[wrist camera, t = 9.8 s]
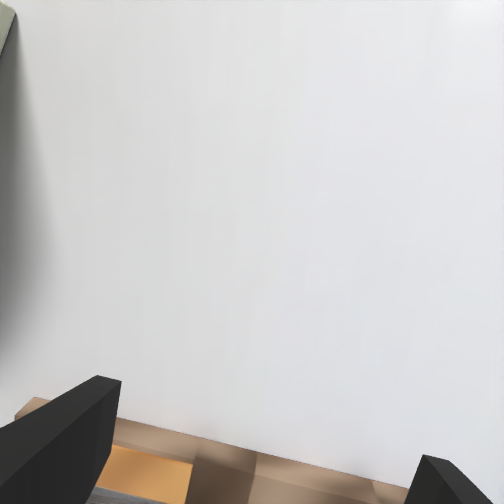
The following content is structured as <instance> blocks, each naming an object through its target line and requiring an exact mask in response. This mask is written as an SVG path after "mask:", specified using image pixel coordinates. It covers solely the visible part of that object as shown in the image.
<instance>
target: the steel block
mask: <svg viewBox="0 0 504 504" xmlns="http://www.w3.org/2000/svg"><path fill="white" fill-rule="evenodd" d="M85 504H163V503H159V502H155V501H151V500H147V499H143V498H139V497H135V496H131V495H127V494H123V493H119V492H115V491H111V490H107V489H103V488H99V487H94V489H93V491H92V493H91V495H90V497H89V498H88V500H87V502H86V503H85Z"/></svg>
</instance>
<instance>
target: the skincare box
mask: <svg viewBox="0 0 504 504" xmlns="http://www.w3.org/2000/svg"><path fill="white" fill-rule="evenodd" d="M14 15H15V10H14V9H13V8H12V7H11V6H9V5H7V4H6V3H4V2H3V1H1V0H0V54H1V51H2V49H3V46H4V43H5V40H6V38H7V35H8V32H9V29H10V27H11V24H12V21H13V18H14Z"/></svg>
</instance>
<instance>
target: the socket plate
mask: <svg viewBox="0 0 504 504" xmlns="http://www.w3.org/2000/svg"><path fill="white" fill-rule="evenodd" d="M48 402H50V401H48V400H44V399H40V398H36V397H34V398H32V399H31V400H30V401H29V402H28V403H27V404H26V405H25V406H24V407H23V408H22V409H21V410H20V411H19V412H18V413H17V414H16V415H15V420H17V419H19V418H21V417H23V416H25V415H26V414H28V413H30V412H32V411H34V410H36V409H37V408H39V407H41V406H43V405H45V404H47V403H48ZM95 487H99V488H103V489H107V490H111V491H115V492H119V493H123V494H127V495H131V496H135V497H139V498H143V499H147V500H151V501H155V502H159V503H163V504H404V502H405V499H406V497H407V494H408V491H409V489H407V488H403V487H399V486H394V485H390V484H386V483H382V482H378V481H374V480H370V479H366V478H362V477H358V476H354V475H350V474H346V473H342V472H337V471H333V470H329V469H325V468H321V467H317V466H313V465H309V464H305V463H301V462H297V461H293V460H289V459H284V458H280V457H276V456H272V455H268V454H264V453H260V452H256V451H252V450H248V449H244V448H240V447H236V446H232V445H227V444H223V443H219V442H215V441H211V440H207V439H203V438H199V437H195V436H191V435H187V434H183V433H179V432H174V431H170V430H166V429H162V428H158V427H154V426H150V425H146V424H142V423H138V422H134V421H130V420H126V419H122V418H117V417H116V422H115V429H114V436H113V442H112V449H111V454H110V456H109V458H108V460H107V462H106V464H105V466H104V468H103V470H102V472H101V475H100V477H99V479H98V481H97V483H96V485H95Z"/></svg>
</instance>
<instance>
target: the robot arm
mask: <svg viewBox="0 0 504 504" xmlns="http://www.w3.org/2000/svg"><path fill="white" fill-rule="evenodd" d="M121 382H122V381H119V380H115V379H111V378H107V377H103V376H99V375H96V376H94V377H92V378H91V379H89V380H87V381H85V382H83V383H82V384H80V385H78V386H76V387H75V388H73V389H71V390H69V391H68V392H66V393H64V394H62V395H61V396H59V397H57V398H55V399H54V400H52V401H50V402H48V403H47V404H45V405H43V406H41V407H39V408H37V409H36V410H34V411H32V412H30V413H28V414H26V415H25V416H23V417H21V418H19V419H17V420H15V421H14V422H12V423H10V424H8V425H6V426H4V427H2V428H0V504H85V503H86V502H87V500H88V498H89V497H90V495H91V493H92V491H93V489H94V487H95V485H96V483H97V481H98V479H99V477H100V475H101V472H102V470H103V468H104V466H105V464H106V462H107V460H108V458H109V456H110V454H111V449H112V442H113V436H114V429H115V422H116V416H117V409H118V402H119V396H120V389H121ZM404 504H493V503H492V502H491V501H490V500H489V499H488V498H487V497H486V496H485V495H484V494H483V493H482V492H481V491H480V490H479V489H478V488H477V487H476V486H475V485H474V484H473V483H472V482H471V481H470V480H469V479H468V478H467V477H466V476H465V475H464V474H463V473H462V472H461V471H460V470H459V469H458V468H457V467H456V466H455V465H454V464H452V463H451V462H450V461H449V460H445V459H441V458H436V457H432V456H428V455H424V454H423V455H422V458H421V460H420V463H419V466H418V468H417V471H416V473H415V476H414V479H413V481H412V484H411V486H410V489H409V491H408V494H407V497H406V499H405V502H404Z"/></svg>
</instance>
